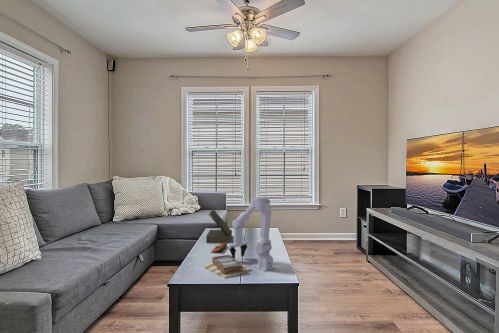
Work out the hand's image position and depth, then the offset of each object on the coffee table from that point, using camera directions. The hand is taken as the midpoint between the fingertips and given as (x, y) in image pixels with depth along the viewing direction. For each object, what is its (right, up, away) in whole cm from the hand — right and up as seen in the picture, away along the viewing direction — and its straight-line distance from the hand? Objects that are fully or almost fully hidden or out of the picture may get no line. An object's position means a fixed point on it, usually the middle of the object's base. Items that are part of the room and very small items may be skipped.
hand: (238, 257), depth 198 cm
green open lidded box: (-18, -2, +53) cm, 56 cm away
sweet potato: (-15, -2, +24) cm, 28 cm away
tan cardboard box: (-6, -1, -16) cm, 17 cm away
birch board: (-6, -2, -16) cm, 17 cm away
